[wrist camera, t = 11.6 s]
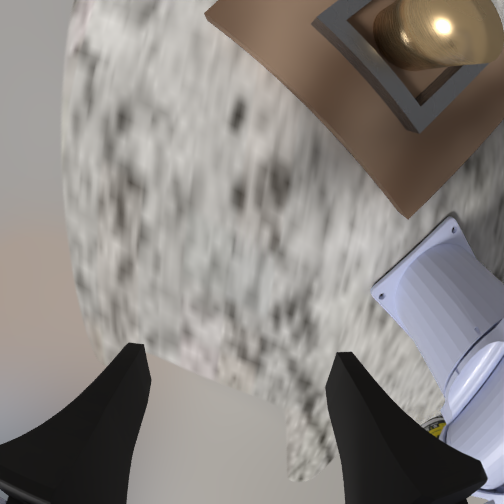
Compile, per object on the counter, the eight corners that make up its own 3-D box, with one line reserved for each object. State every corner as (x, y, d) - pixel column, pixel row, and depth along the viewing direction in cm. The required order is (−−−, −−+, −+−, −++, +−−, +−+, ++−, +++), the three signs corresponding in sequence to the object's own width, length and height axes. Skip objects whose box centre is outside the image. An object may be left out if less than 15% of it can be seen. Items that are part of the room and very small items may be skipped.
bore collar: (477, 60, 12) (492, 59, 11) (406, 130, 15) (419, 133, 14) (397, -39, 10) (408, -47, 9) (310, 24, 12) (316, 17, 11)
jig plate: (513, 88, 14) (526, 90, 13) (397, 211, 18) (408, 219, 17) (366, -89, 9) (373, -98, 8) (207, 20, 13) (204, 13, 12)
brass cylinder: (447, 46, 12) (515, 35, 7) (409, 85, 14) (476, 82, 8) (400, -6, 11) (456, -40, 6) (358, 30, 12) (408, -2, 7)
